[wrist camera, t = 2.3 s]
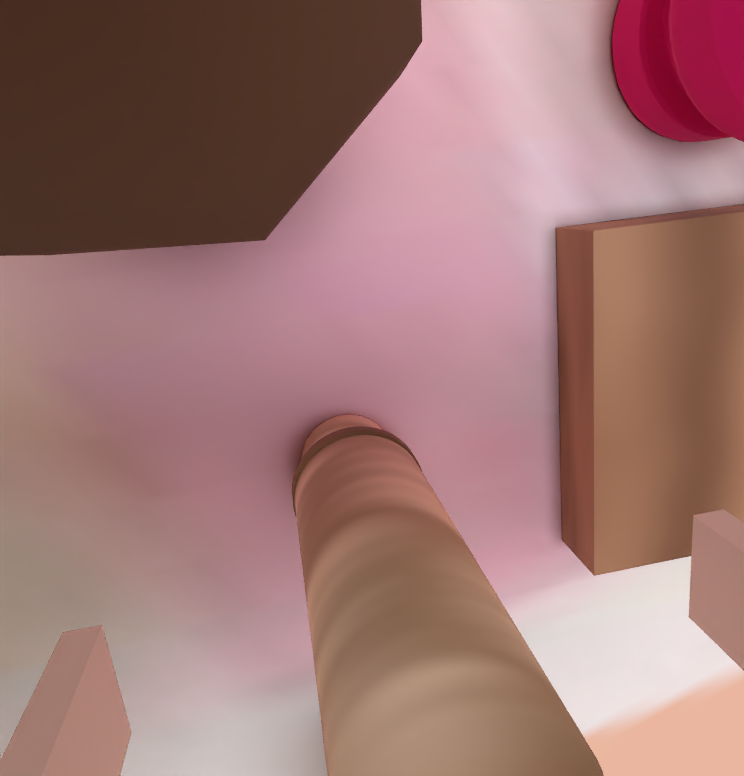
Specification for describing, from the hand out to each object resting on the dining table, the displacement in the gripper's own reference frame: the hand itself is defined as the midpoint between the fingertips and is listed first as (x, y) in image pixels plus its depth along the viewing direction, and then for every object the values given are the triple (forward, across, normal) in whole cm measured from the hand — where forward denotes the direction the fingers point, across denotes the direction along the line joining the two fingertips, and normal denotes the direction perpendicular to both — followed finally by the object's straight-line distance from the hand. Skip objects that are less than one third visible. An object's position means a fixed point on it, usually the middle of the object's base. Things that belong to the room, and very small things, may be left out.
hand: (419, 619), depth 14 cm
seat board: (+9, +16, +1) cm, 19 cm away
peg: (+9, 0, 0) cm, 9 cm away
